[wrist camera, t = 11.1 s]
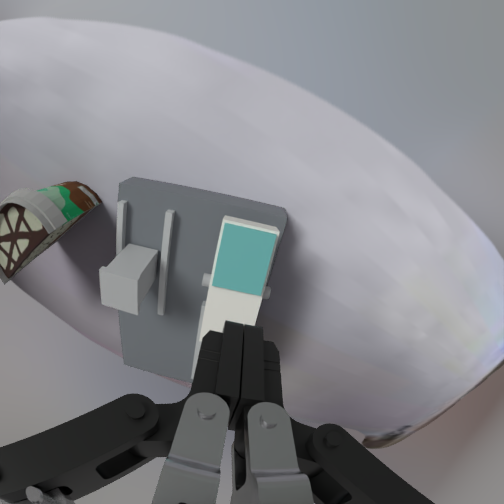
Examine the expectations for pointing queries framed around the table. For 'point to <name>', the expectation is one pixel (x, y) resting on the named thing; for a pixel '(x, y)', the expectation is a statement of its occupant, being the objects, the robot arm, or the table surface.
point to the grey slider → (128, 278)
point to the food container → (39, 221)
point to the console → (176, 267)
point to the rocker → (238, 273)
